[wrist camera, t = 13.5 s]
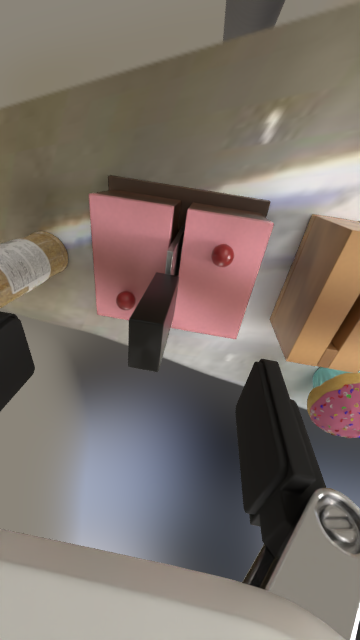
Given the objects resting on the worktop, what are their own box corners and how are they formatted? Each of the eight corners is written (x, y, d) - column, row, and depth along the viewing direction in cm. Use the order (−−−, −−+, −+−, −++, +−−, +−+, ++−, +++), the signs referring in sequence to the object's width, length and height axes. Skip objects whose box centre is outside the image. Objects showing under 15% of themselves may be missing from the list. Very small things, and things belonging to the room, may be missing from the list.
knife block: (311, 213, 20) (352, 229, 14) (383, 225, 20) (454, 246, 14) (269, 319, 26) (285, 361, 20) (324, 328, 26) (357, 374, 20)
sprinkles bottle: (39, 273, 27) (-89, 347, 15) (21, 231, 24) (-147, 281, 13) (76, 270, 26) (-30, 345, 15) (60, 227, 24) (-81, 276, 12)
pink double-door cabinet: (111, 175, 21) (67, 175, 14) (269, 200, 20) (294, 211, 14) (114, 296, 27) (84, 332, 21) (233, 317, 27) (240, 360, 20)
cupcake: (379, 386, 29) (466, 497, 19) (310, 406, 33) (353, 510, 23) (358, 338, 26) (450, 441, 16) (284, 366, 30) (322, 466, 19)
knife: (174, 225, 21) (128, 288, 10) (192, 228, 21) (167, 294, 10) (168, 285, 25) (127, 387, 13) (183, 287, 25) (156, 392, 13)
